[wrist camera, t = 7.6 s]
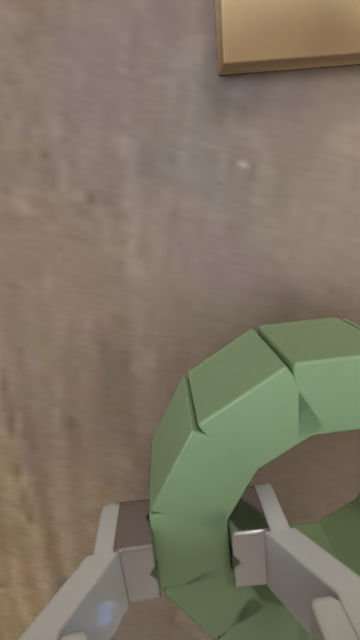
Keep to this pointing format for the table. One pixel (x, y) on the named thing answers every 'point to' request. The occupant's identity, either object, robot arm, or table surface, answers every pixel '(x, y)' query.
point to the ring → (248, 464)
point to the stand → (286, 34)
